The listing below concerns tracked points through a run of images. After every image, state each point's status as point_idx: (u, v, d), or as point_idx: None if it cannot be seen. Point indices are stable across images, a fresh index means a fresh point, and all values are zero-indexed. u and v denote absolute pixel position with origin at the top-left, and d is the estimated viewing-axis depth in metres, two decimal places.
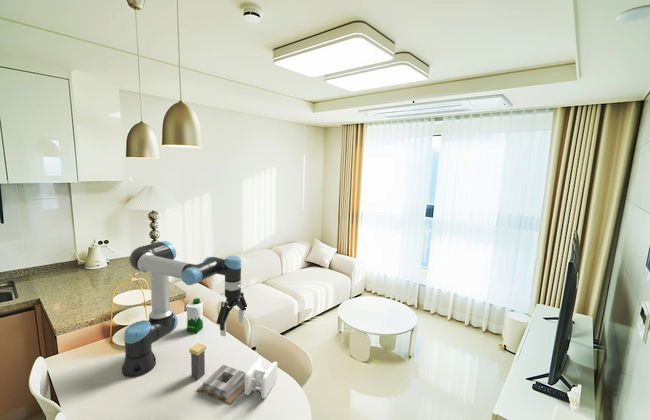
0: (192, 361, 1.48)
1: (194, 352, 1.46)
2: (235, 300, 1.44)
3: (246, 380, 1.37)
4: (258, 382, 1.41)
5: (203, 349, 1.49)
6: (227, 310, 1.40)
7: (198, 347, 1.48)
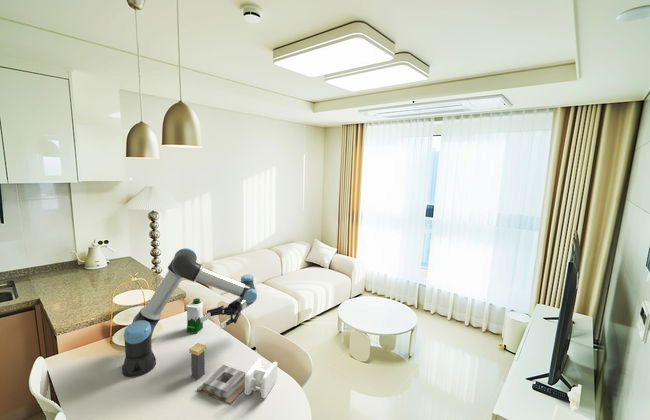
0: (192, 361, 1.48)
1: (194, 352, 1.46)
2: None
3: (246, 380, 1.37)
4: (258, 382, 1.41)
5: (203, 349, 1.49)
6: None
7: (198, 347, 1.48)
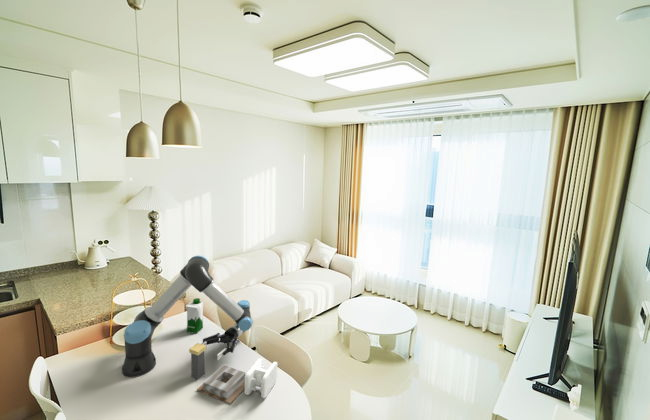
0: (192, 361, 1.48)
1: (194, 352, 1.46)
2: None
3: (246, 380, 1.37)
4: (258, 382, 1.41)
5: (203, 349, 1.49)
6: None
7: (197, 347, 1.48)
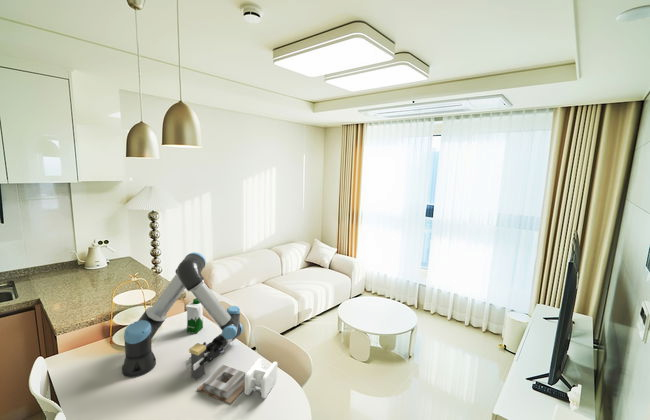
0: (192, 361, 1.48)
1: (194, 352, 1.46)
2: None
3: (246, 380, 1.37)
4: (258, 382, 1.41)
5: (203, 349, 1.49)
6: (212, 354, 1.56)
7: (197, 348, 1.48)
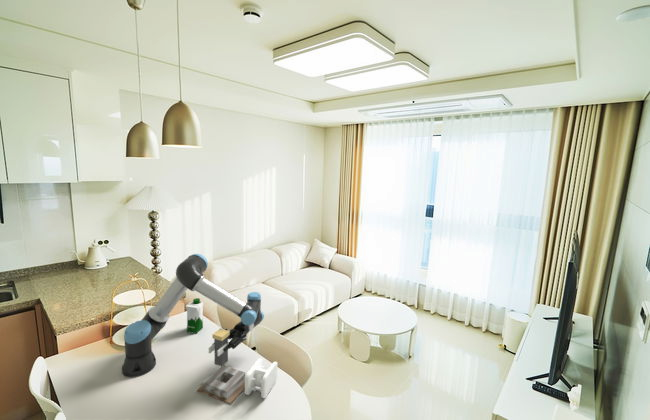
0: (215, 347, 1.42)
1: (218, 337, 1.40)
2: None
3: (246, 380, 1.37)
4: (258, 382, 1.41)
5: (227, 334, 1.42)
6: (235, 340, 1.49)
7: (221, 333, 1.42)
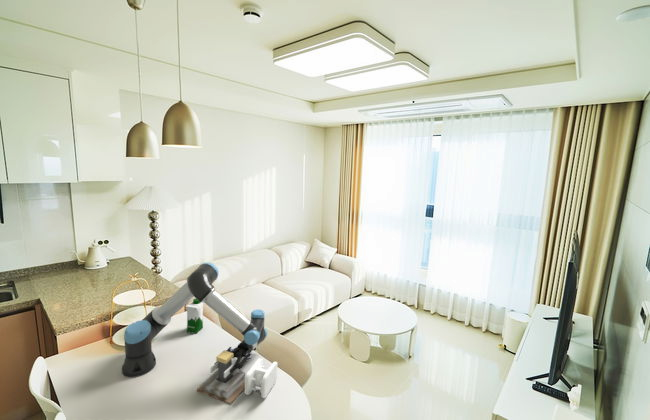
0: (219, 369, 1.42)
1: (222, 360, 1.40)
2: None
3: (246, 380, 1.37)
4: (258, 382, 1.41)
5: (230, 357, 1.43)
6: (240, 360, 1.49)
7: (225, 355, 1.42)
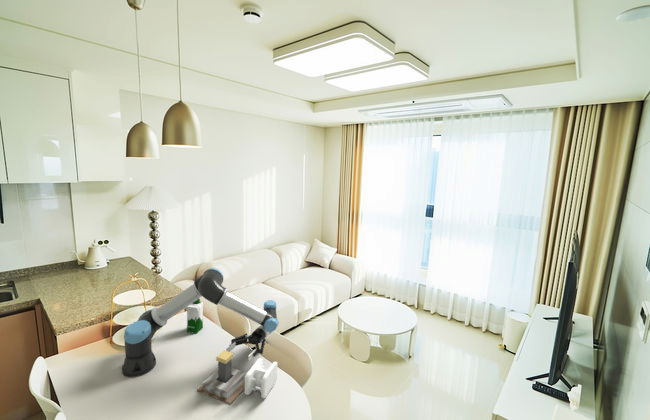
0: (219, 369, 1.42)
1: (222, 360, 1.40)
2: None
3: (246, 380, 1.37)
4: (258, 382, 1.41)
5: (230, 357, 1.43)
6: None
7: (225, 355, 1.42)
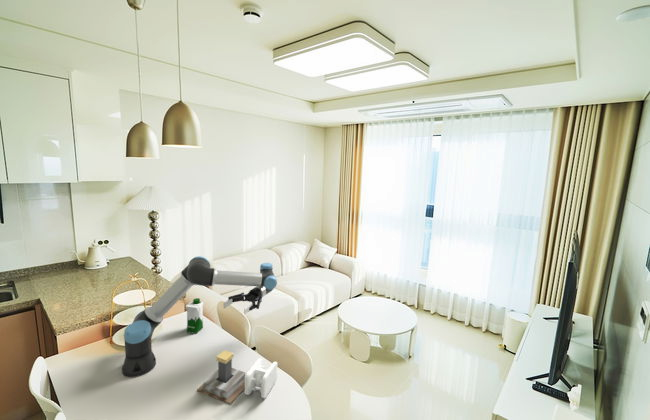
0: (219, 369, 1.42)
1: (222, 360, 1.40)
2: None
3: (246, 380, 1.37)
4: (258, 382, 1.41)
5: (230, 357, 1.43)
6: None
7: (225, 355, 1.42)
